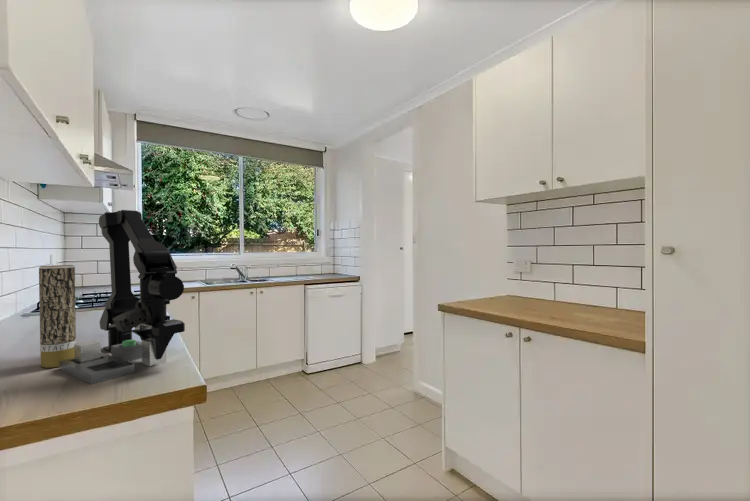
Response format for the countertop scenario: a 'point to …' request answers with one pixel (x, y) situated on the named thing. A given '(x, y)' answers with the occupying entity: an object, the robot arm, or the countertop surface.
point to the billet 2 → (150, 353)
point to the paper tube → (57, 314)
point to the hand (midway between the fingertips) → (154, 357)
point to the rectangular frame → (97, 368)
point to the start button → (128, 343)
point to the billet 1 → (87, 351)
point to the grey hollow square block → (127, 351)
